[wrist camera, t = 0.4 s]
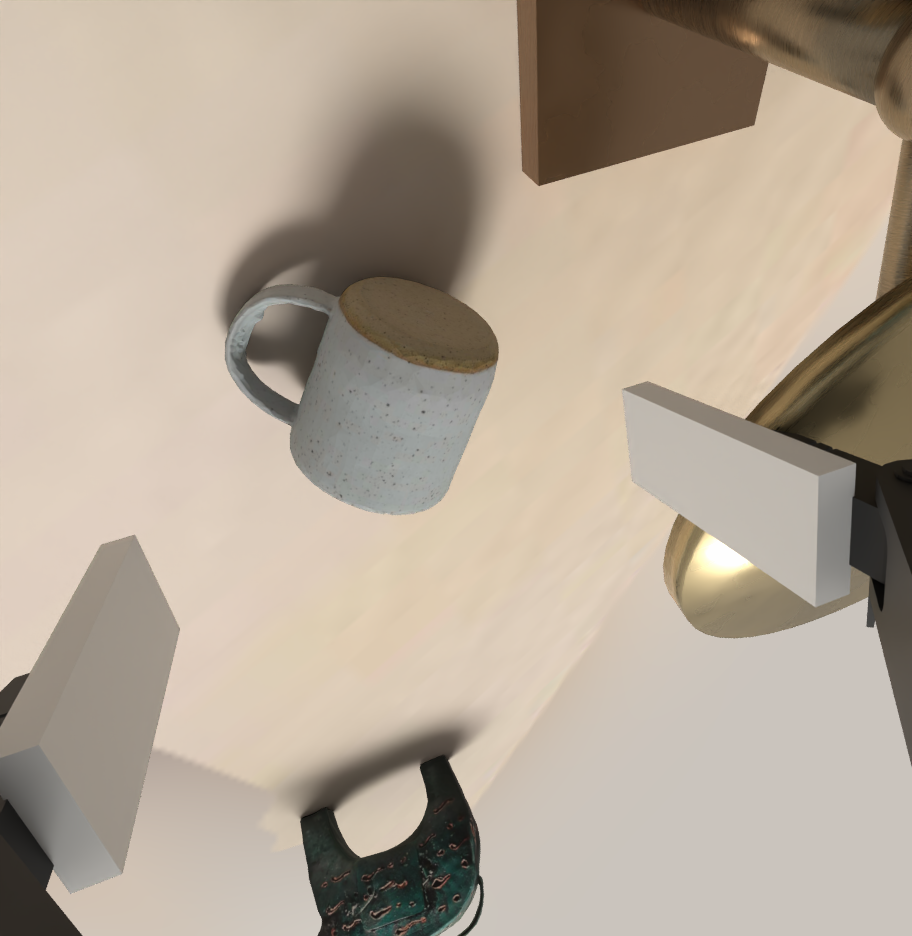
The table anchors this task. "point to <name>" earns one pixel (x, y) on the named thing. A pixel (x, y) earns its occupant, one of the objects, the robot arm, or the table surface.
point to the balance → (707, 115)
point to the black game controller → (399, 869)
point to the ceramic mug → (378, 389)
